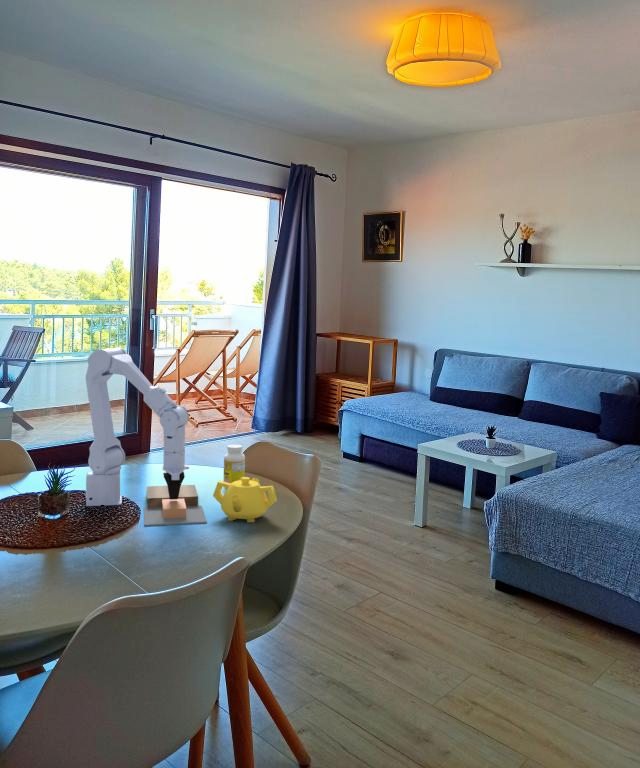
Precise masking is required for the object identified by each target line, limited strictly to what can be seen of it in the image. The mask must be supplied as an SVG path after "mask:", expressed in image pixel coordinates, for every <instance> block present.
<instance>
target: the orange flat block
mask: <svg viewBox="0 0 640 768" xmlns="http://www.w3.org/2000/svg"><path fill="white" fill-rule="evenodd" d="M162 512H163V519H165V518H186V505H185V501H184V499H173V500H170V499H162Z"/></svg>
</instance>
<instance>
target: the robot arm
mask: <svg viewBox="0 0 640 768" xmlns="http://www.w3.org/2000/svg"><path fill="white" fill-rule="evenodd" d="M87 363H88V366H87V370H86V373H85V385H86V393H87V397H88V405H89V412H90V419H91V425H92V431H93V442H92V443H91V445H90V446H89V448H88V449H89V456H88V461H87V462H88V466H89V468H90V470H91V471H89V472H86V477H85V495H84V496H85V499H86V500H85V501H86V502H85V507H100V506H101V505H104V506H121V505H122V501H123V500H122V499H123V495H121V469H122V466H123V464H124V463H125V460H126V452H125V450H124V449H123V447H122V445H121V440H119V439H118V438H117V437H116V436H115V431H114V424H113V423H114V422H113V417H112V411H111V403H110V397H109V390H108V389H109V388H108V381H109V380H110V379H111V377H113V375H120V376H123V377H124V378H125V379H126V380H127V381H129V382H130V384H132V385H133V386H134V387H135V388H136V390H138V391H139V392H140V393H141V394H143V402H144V403H145V404H146V405H147V407H149V408H150V409H151V411H153V412H154V414H155V415H156V416H157V417H158V418H159V424H160V425H161V428H162V431H163V464H162V471H164V472H163V478H164V480H165V482H166V486H168V492H169V497H170V500H173V499H178V496H179V491H180V487H181V485H183V484H182V483H183V481H184V479H185V478H186V477H185V476H186V475H185V472H184V471H186V470H189V469H190V466H189V464H185V463H186V462H185V461H186V459H185V458H186V454H185V453H186V451H185V450H186V425H187V423H189V419H190V417H189V416H190V414H189V412H188V410H187V409H186V407H185V406H183V405H179V404H178V403H177V402H176V401H174V400H173V399H172V398H171V397H170V396H169V395H168V393H166V392H167V390H166V389H165V388H163V387H162V388H161V386H154V385H153V384H152V383H151V382H150V381H149V379H148V378H147V377H146V376H145V375H144V374H143V372H142V371H141V370H140V369H139V367H138V366H137V365H136V364H135V363H134V361H133V359H132V356H131V355H130V354H128V353H127V351H126V350H125V349H124V348H122V347H120V346H114V347H110V348H109V347H108V348H98V349H97V348H96V349H95V350H94V351H93V352H92V353H90V355H88V356H87ZM101 507H102V506H101Z"/></svg>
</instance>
